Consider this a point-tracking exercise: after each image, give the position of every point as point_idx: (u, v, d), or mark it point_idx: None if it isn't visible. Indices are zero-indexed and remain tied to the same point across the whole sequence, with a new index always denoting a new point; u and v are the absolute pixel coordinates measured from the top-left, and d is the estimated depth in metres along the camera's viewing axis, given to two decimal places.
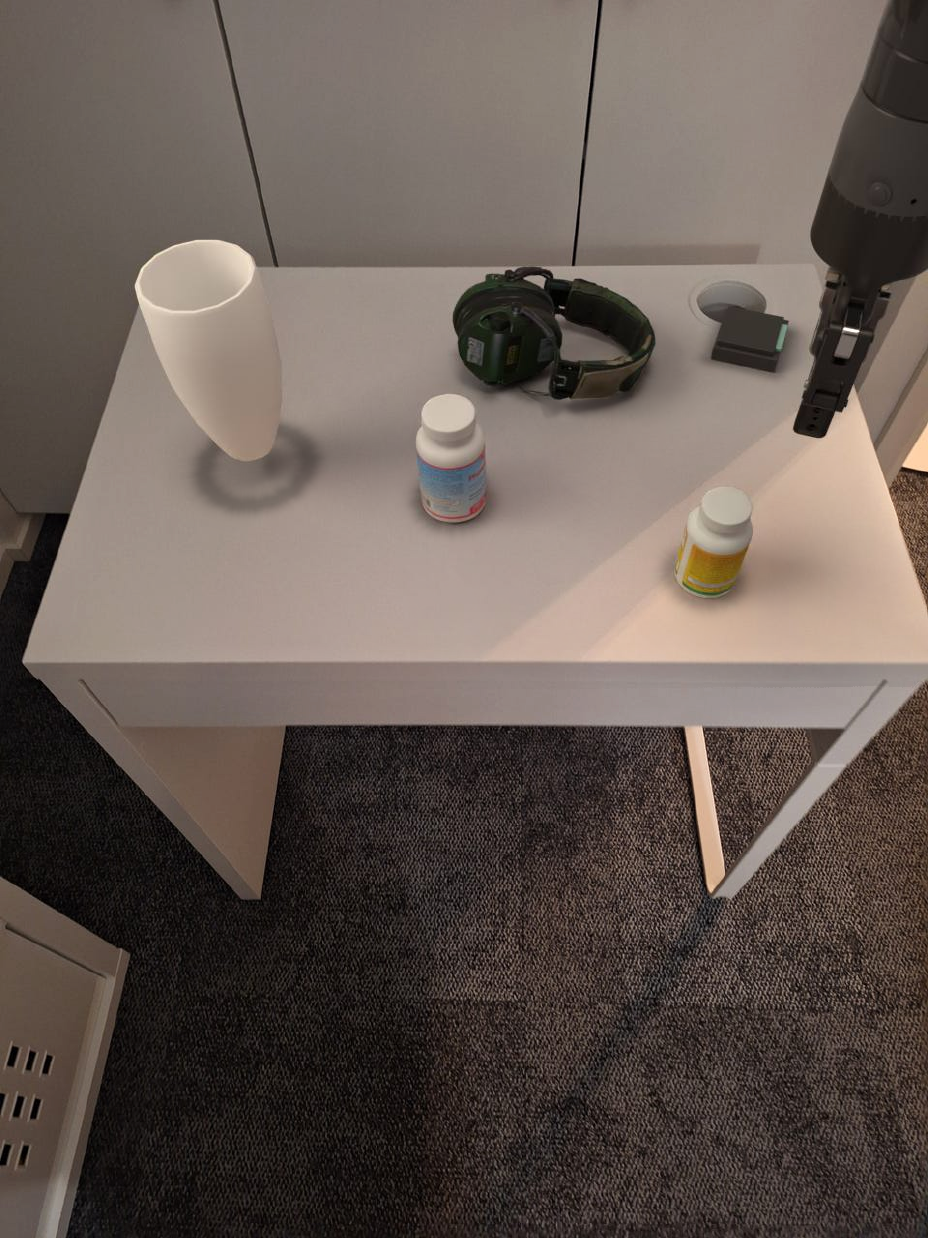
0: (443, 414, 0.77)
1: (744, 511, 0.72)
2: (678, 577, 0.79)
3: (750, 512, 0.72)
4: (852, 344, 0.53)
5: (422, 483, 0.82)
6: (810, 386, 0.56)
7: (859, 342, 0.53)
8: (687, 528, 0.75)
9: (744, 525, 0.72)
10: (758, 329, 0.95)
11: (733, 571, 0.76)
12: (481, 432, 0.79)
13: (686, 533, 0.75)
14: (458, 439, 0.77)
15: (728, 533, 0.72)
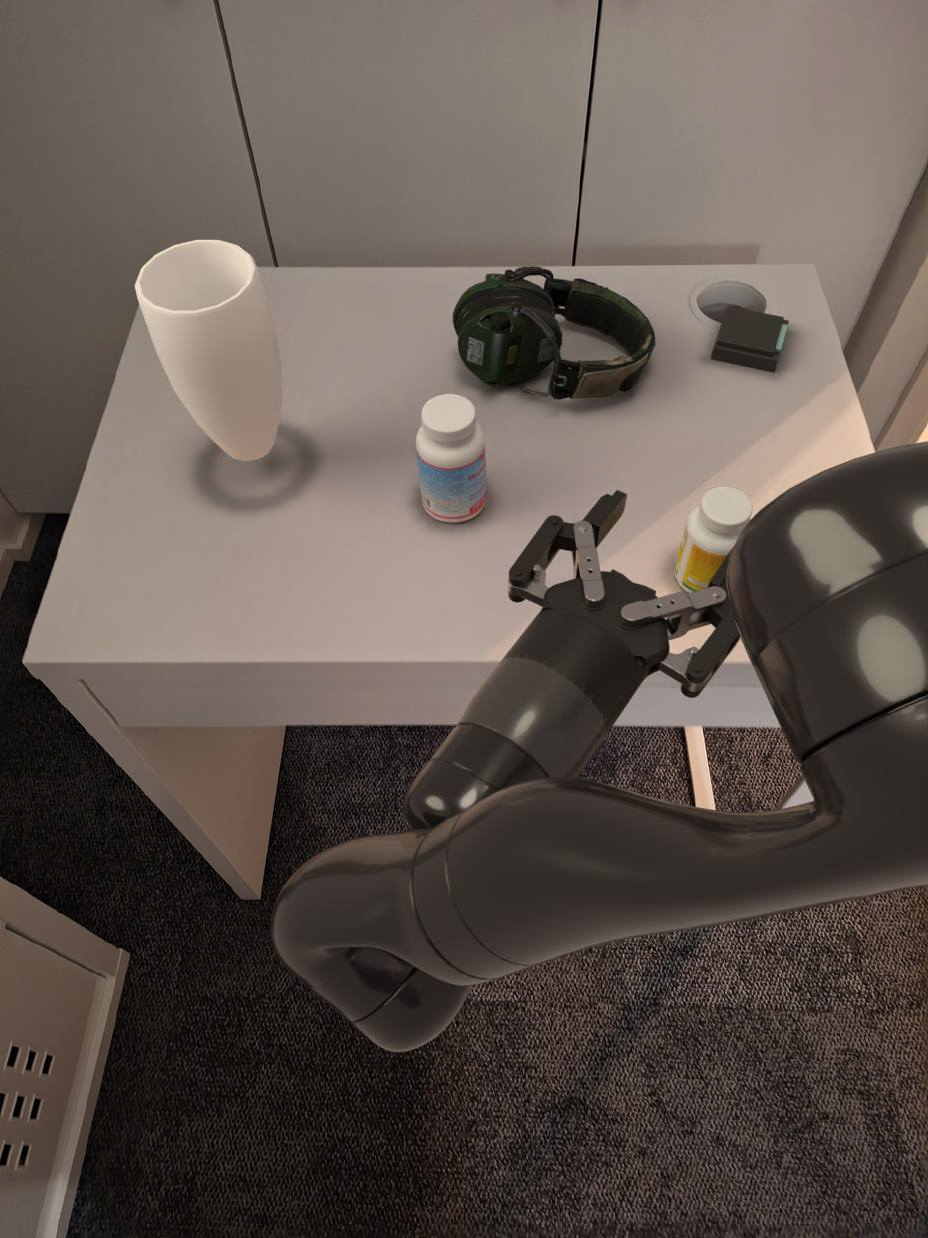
0: (443, 414, 0.77)
1: (744, 511, 0.72)
2: (678, 577, 0.79)
3: (750, 512, 0.72)
4: (705, 679, 0.54)
5: (422, 483, 0.82)
6: None
7: (704, 678, 0.53)
8: (687, 528, 0.75)
9: (744, 525, 0.72)
10: (758, 329, 0.95)
11: None
12: (481, 432, 0.79)
13: (686, 533, 0.75)
14: (458, 439, 0.77)
15: (728, 533, 0.72)
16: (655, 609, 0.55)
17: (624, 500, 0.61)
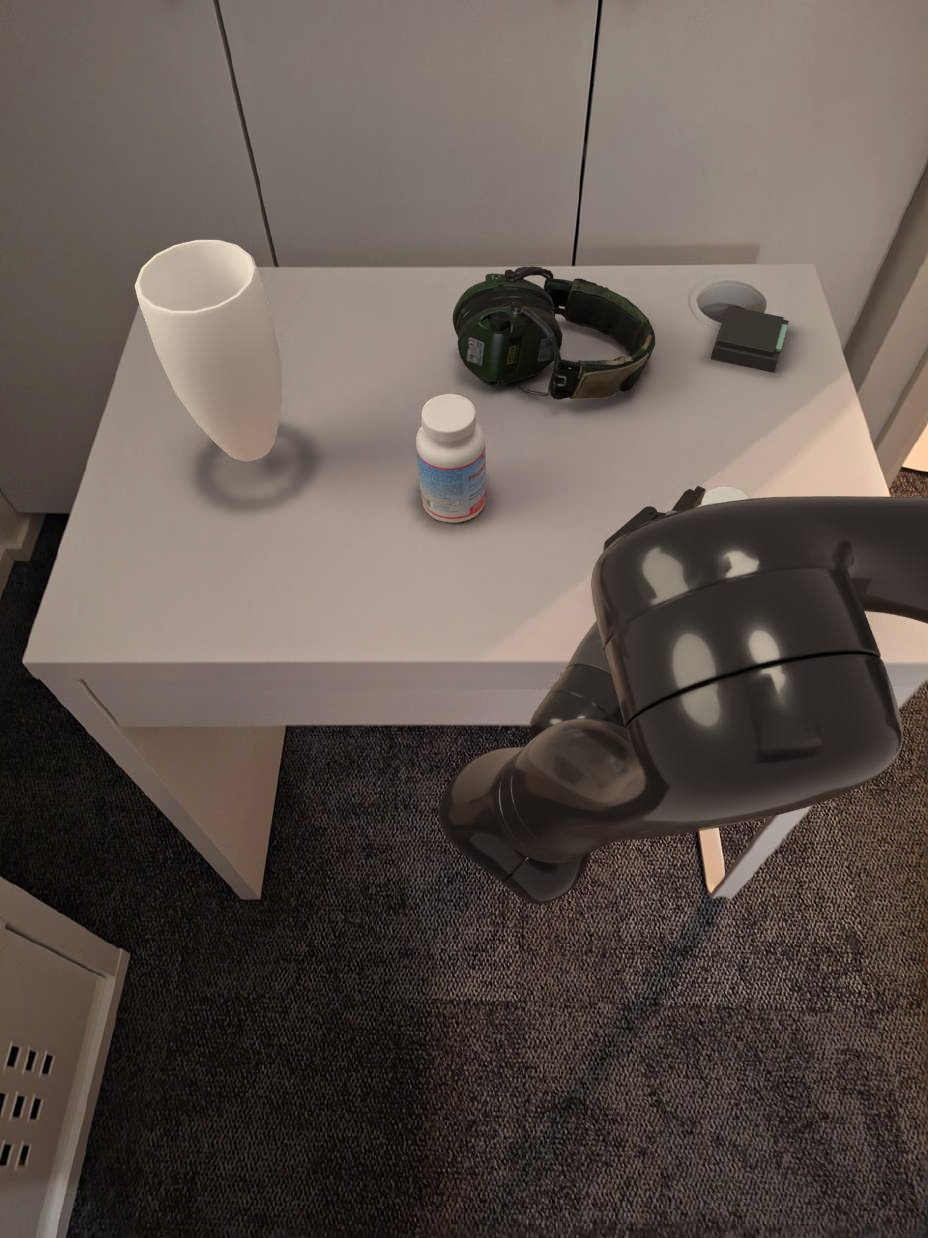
0: (443, 414, 0.77)
1: None
2: None
3: None
4: None
5: (422, 483, 0.82)
6: None
7: None
8: None
9: None
10: (758, 329, 0.95)
11: None
12: (481, 432, 0.79)
13: None
14: (459, 439, 0.77)
15: None
16: None
17: (703, 494, 0.77)
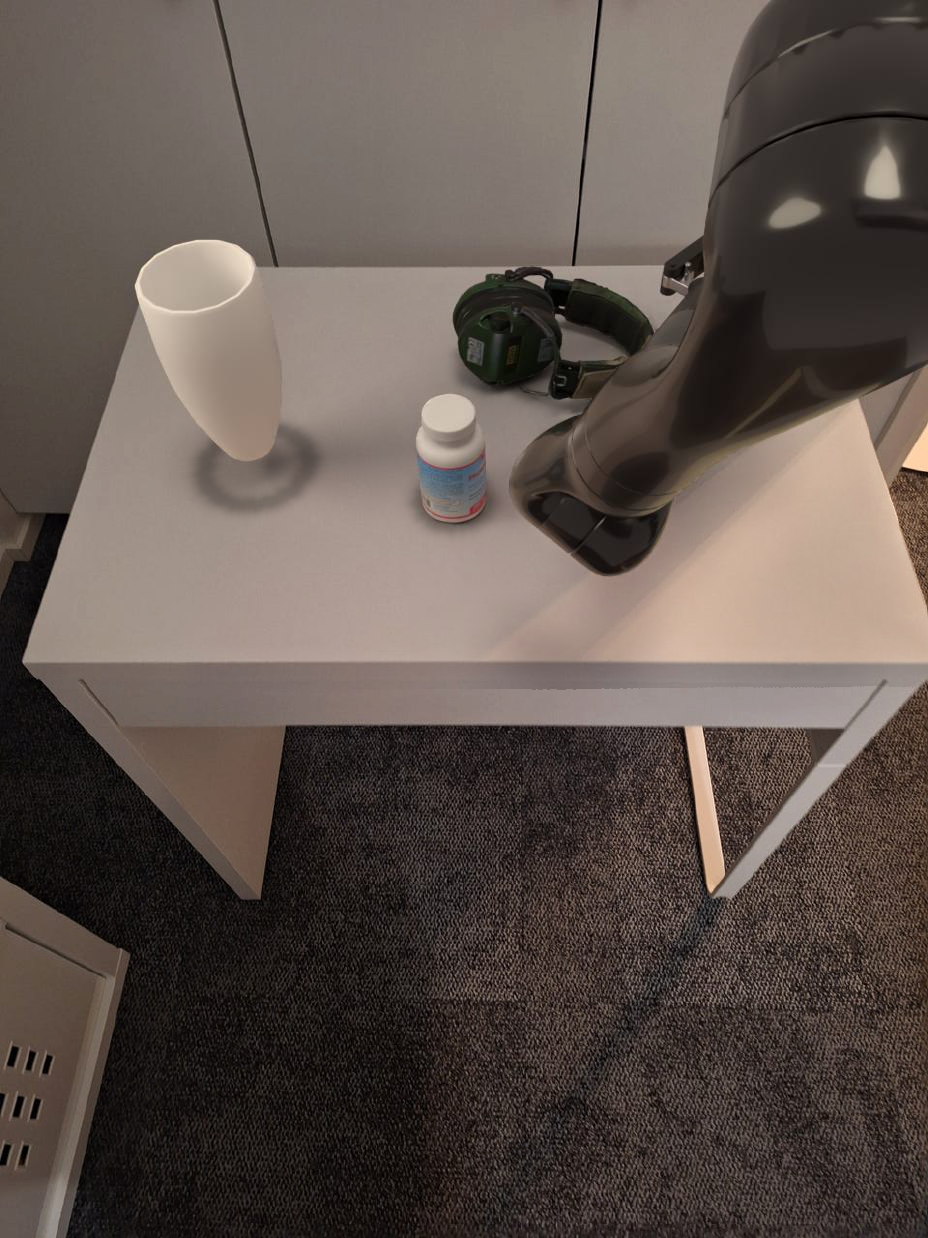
0: (443, 414, 0.77)
1: None
2: None
3: None
4: None
5: (422, 483, 0.82)
6: None
7: None
8: None
9: None
10: None
11: None
12: (481, 432, 0.79)
13: None
14: (459, 439, 0.77)
15: None
16: None
17: None
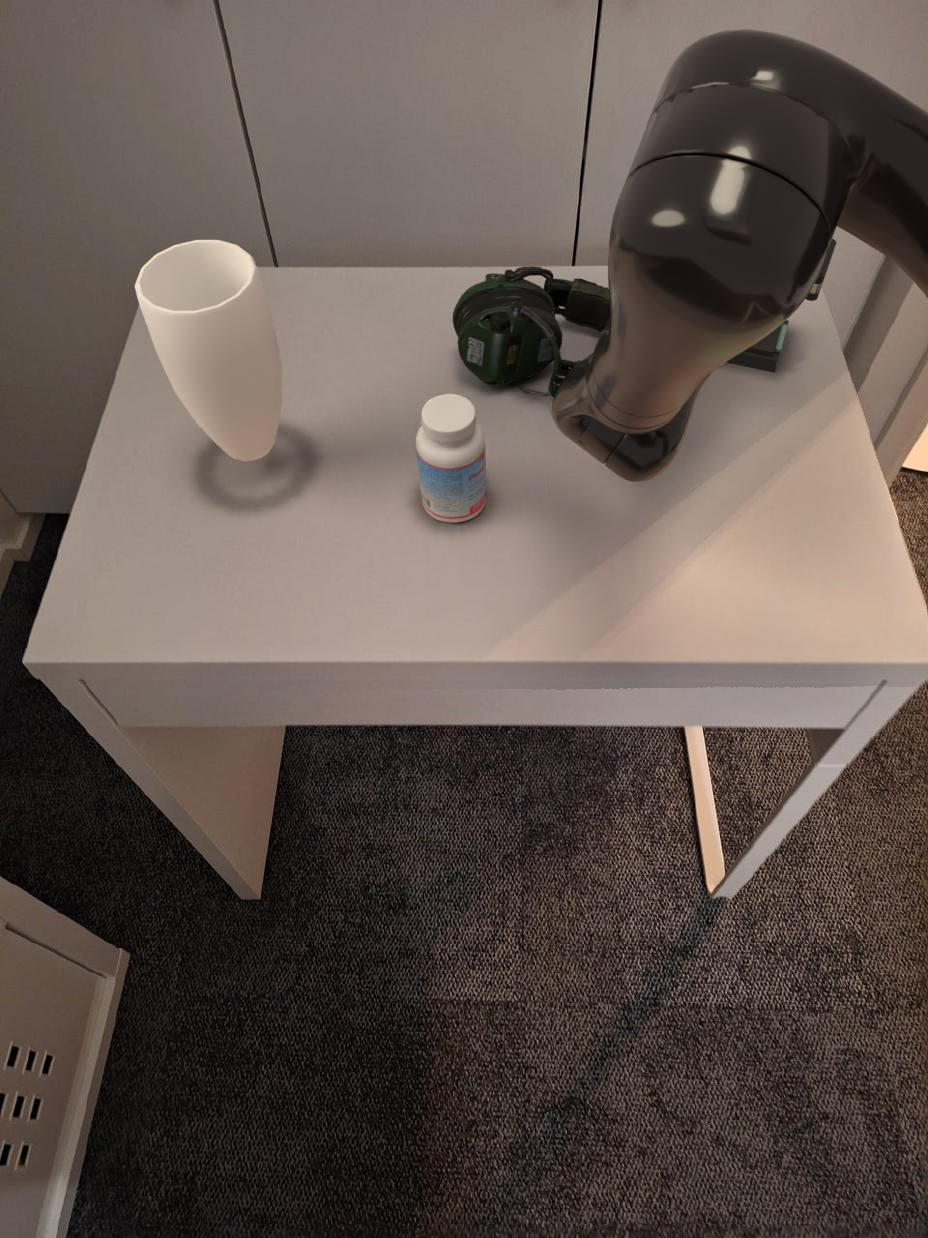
0: (443, 414, 0.77)
1: None
2: None
3: None
4: None
5: (422, 483, 0.82)
6: None
7: (823, 279, 0.79)
8: None
9: None
10: None
11: None
12: (481, 432, 0.79)
13: None
14: (459, 439, 0.77)
15: None
16: None
17: None
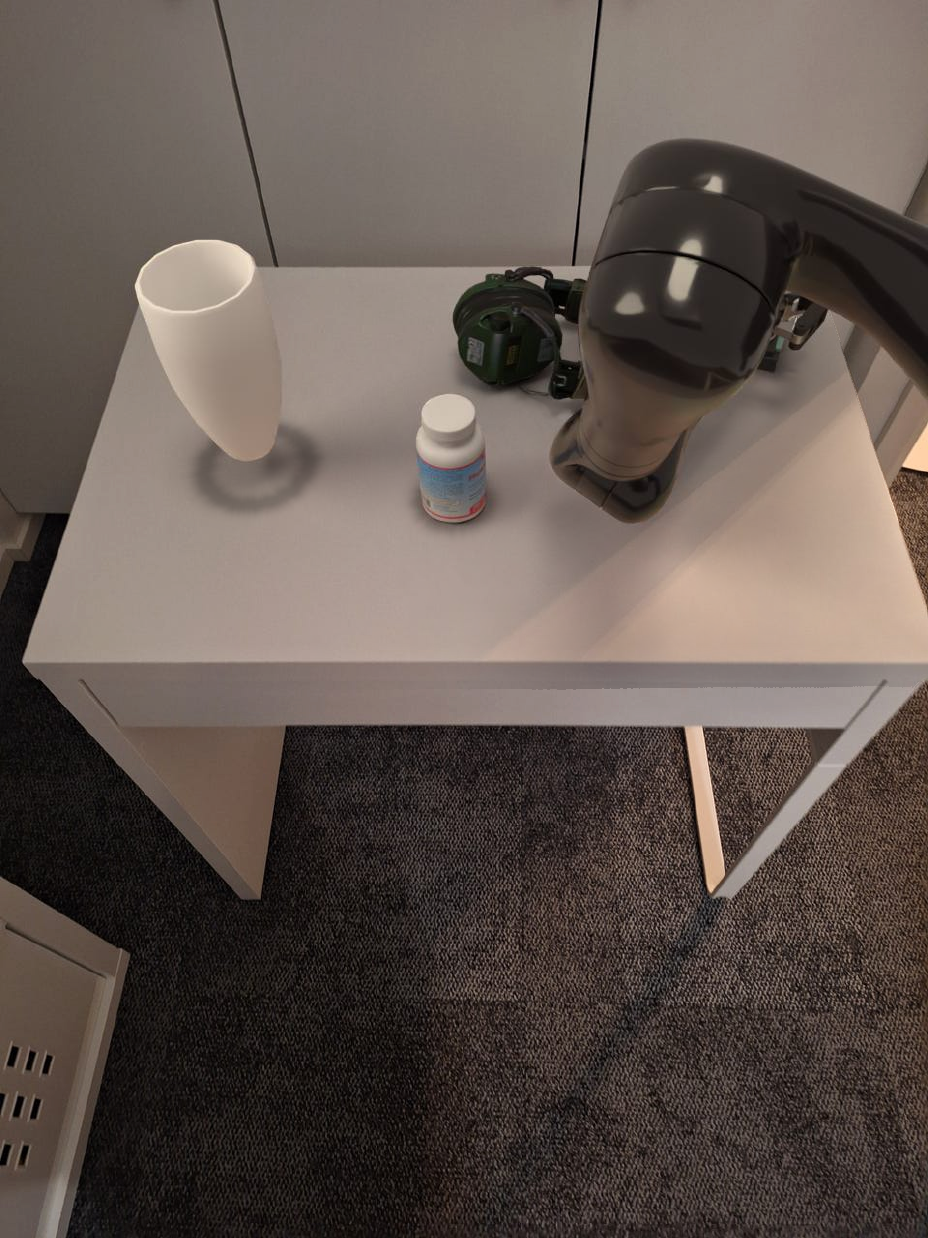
0: (443, 414, 0.77)
1: None
2: None
3: None
4: (806, 334, 0.83)
5: (422, 483, 0.82)
6: (818, 327, 0.85)
7: (805, 332, 0.83)
8: None
9: None
10: None
11: None
12: (481, 432, 0.79)
13: None
14: (459, 439, 0.77)
15: None
16: None
17: None
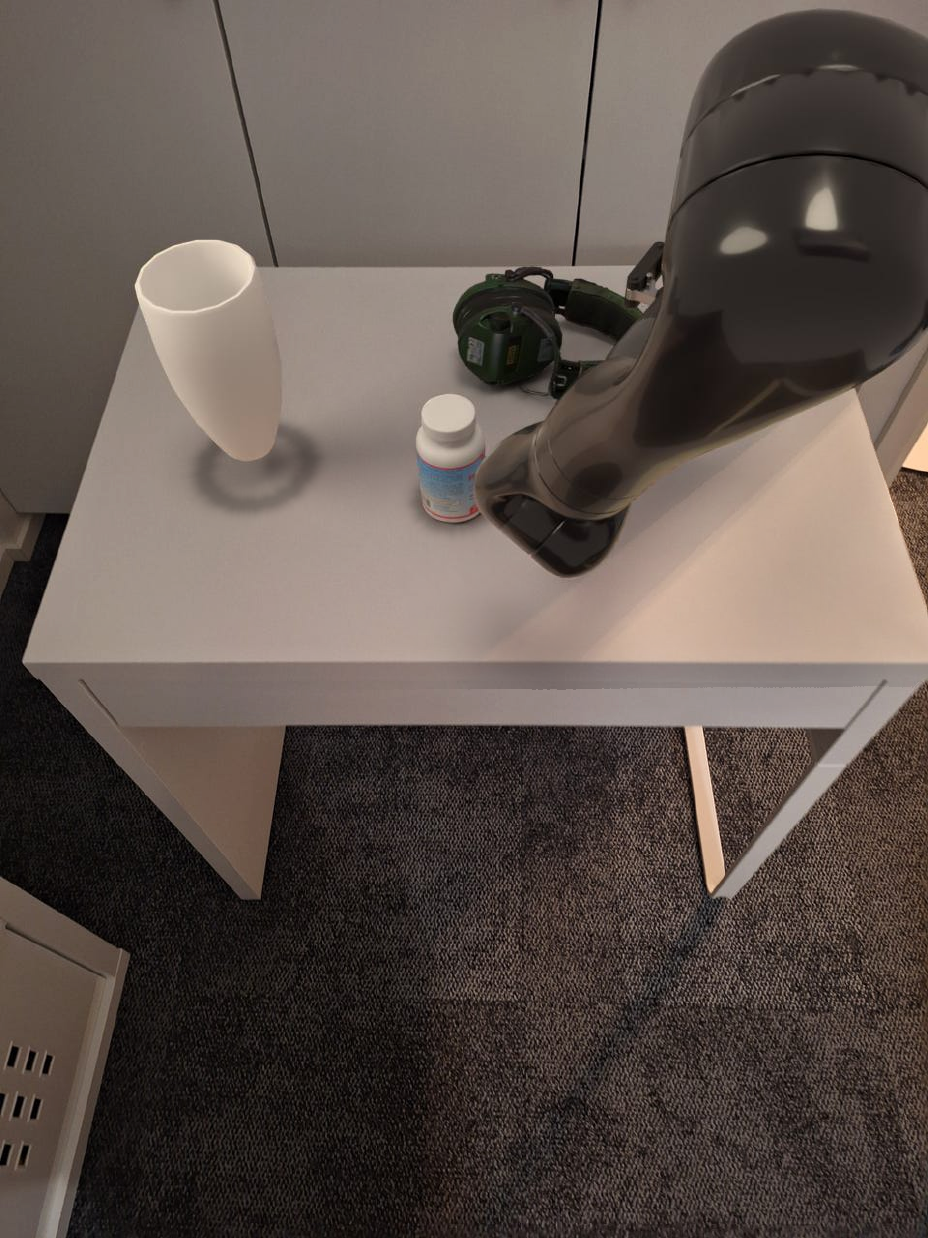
0: (443, 414, 0.77)
1: None
2: None
3: None
4: None
5: (422, 483, 0.82)
6: None
7: None
8: None
9: None
10: None
11: None
12: (481, 432, 0.79)
13: None
14: (458, 439, 0.77)
15: None
16: None
17: None
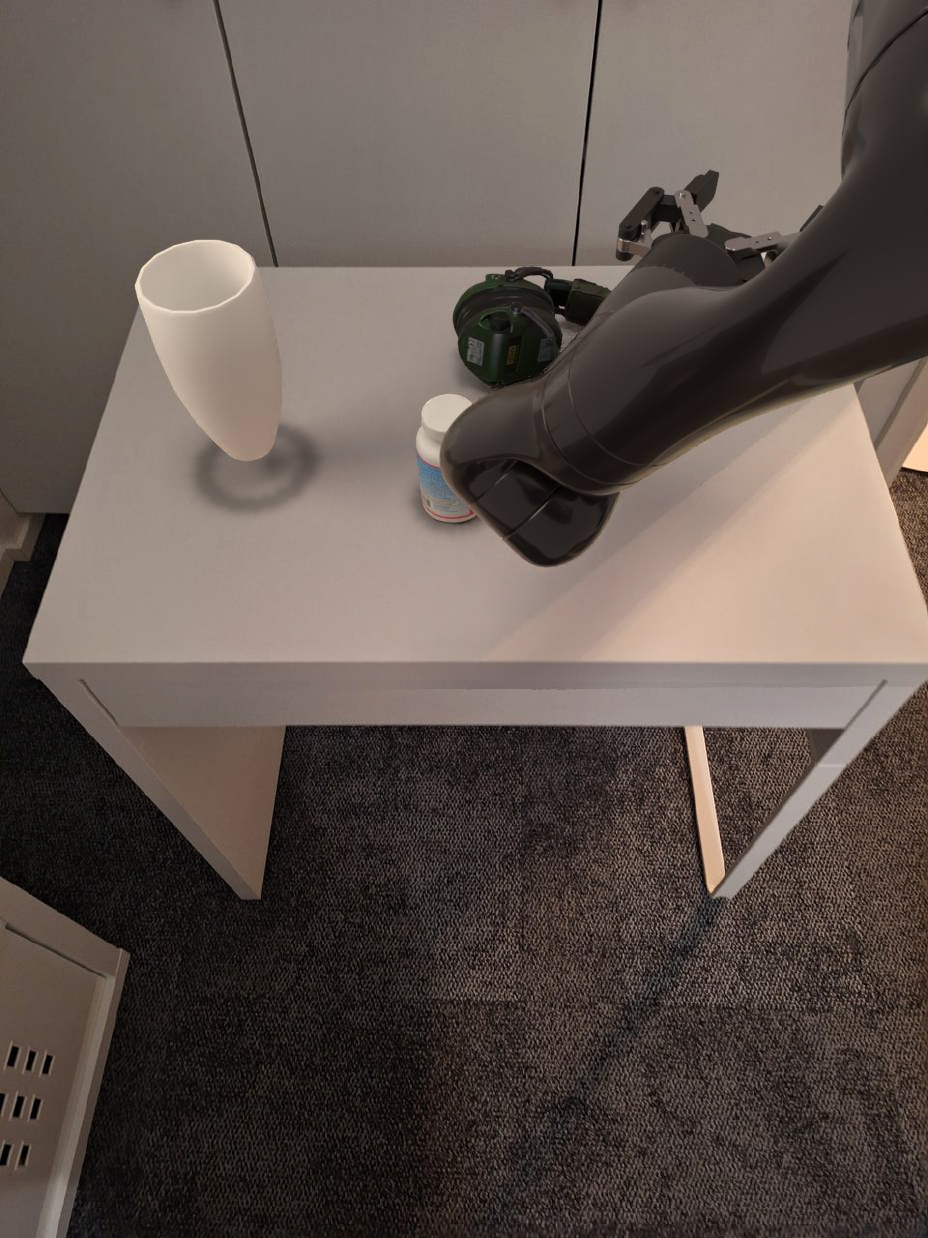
0: (443, 414, 0.77)
1: None
2: None
3: None
4: None
5: (422, 483, 0.82)
6: None
7: None
8: None
9: None
10: None
11: None
12: None
13: None
14: None
15: None
16: (754, 243, 0.62)
17: (716, 179, 0.68)
